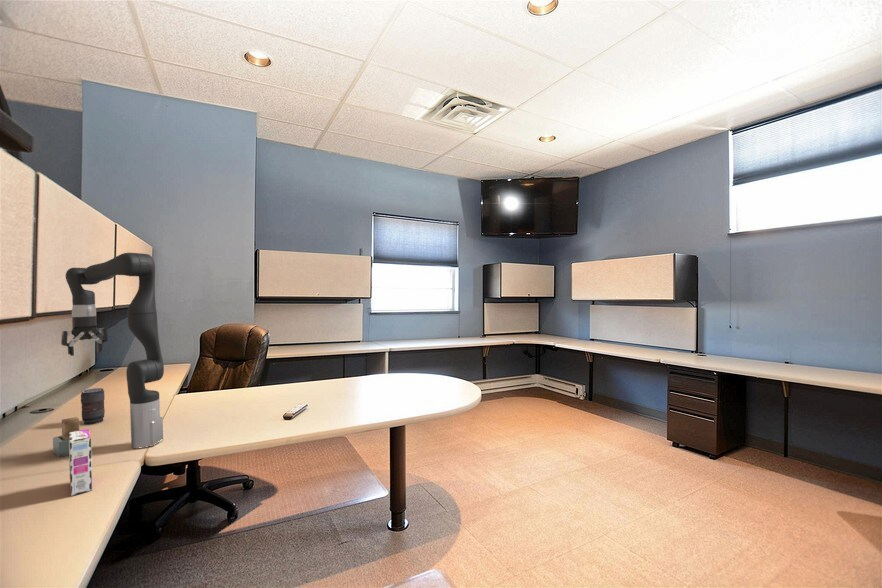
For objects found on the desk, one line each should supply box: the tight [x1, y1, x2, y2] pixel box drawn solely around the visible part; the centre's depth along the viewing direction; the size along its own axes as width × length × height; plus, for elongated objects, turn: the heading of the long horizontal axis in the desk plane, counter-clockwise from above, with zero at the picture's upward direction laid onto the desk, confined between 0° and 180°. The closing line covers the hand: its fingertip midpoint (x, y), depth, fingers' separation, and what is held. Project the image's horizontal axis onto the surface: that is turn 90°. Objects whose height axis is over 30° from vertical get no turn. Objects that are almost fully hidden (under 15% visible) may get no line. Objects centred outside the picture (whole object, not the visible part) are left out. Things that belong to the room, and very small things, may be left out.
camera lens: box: [80, 387, 106, 426], centre depth 180 cm, size 8×8×15 cm
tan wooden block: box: [61, 416, 80, 441], centre depth 148 cm, size 4×4×11 cm
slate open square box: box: [52, 435, 69, 458], centre depth 148 cm, size 8×8×6 cm
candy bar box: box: [68, 428, 93, 497], centre depth 120 cm, size 11×5×16 cm, turn 45°
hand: (85, 354), depth 164 cm, fingers open, 8 cm apart
